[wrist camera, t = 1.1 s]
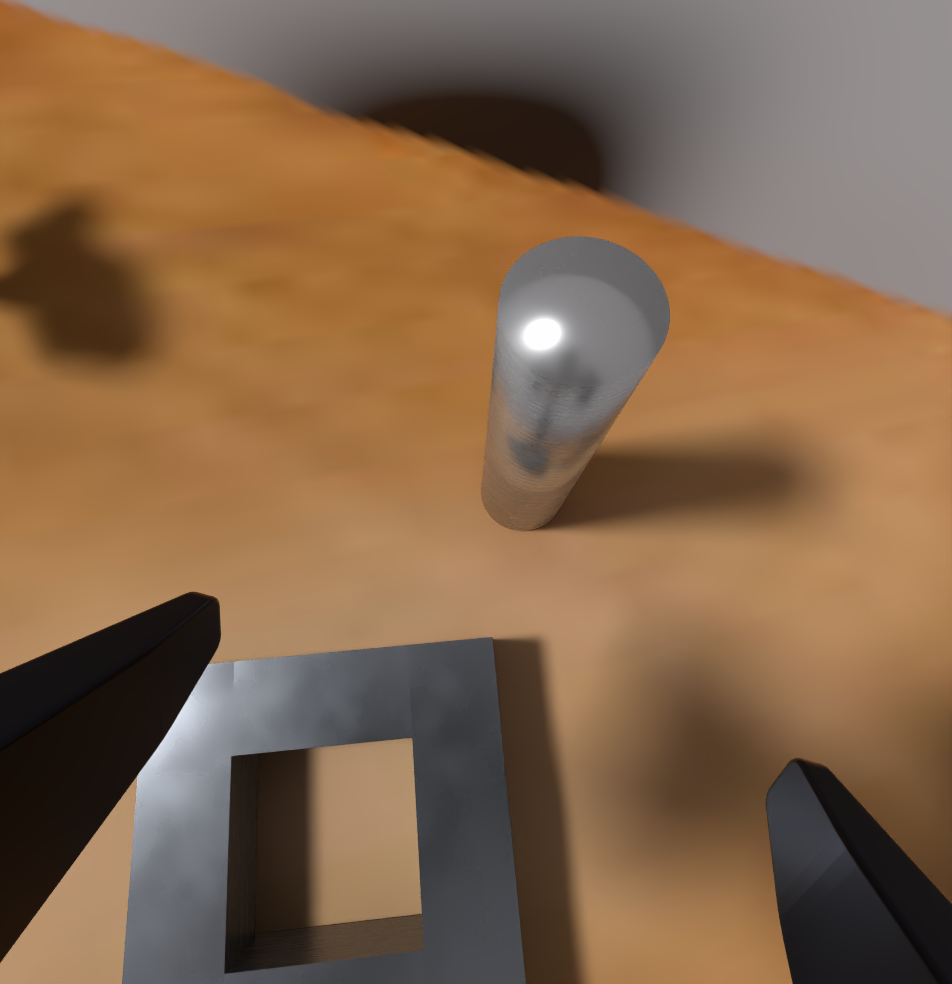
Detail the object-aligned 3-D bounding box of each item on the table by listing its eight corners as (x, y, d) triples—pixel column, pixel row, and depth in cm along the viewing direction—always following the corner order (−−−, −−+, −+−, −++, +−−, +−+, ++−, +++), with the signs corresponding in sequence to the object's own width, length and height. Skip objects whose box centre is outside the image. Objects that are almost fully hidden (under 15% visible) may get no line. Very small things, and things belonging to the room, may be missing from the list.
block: (524, 1007, 18) (533, 1060, 16) (159, 1053, 18) (112, 1114, 16) (489, 639, 22) (492, 637, 19) (181, 668, 21) (145, 669, 19)
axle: (567, 527, 23) (685, 377, 11) (485, 534, 23) (508, 390, 11) (556, 450, 24) (652, 231, 12) (477, 456, 24) (490, 241, 12)
